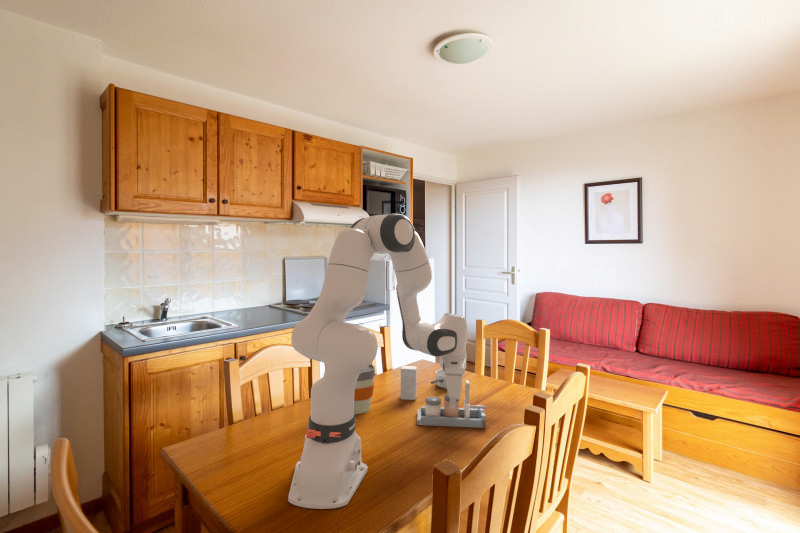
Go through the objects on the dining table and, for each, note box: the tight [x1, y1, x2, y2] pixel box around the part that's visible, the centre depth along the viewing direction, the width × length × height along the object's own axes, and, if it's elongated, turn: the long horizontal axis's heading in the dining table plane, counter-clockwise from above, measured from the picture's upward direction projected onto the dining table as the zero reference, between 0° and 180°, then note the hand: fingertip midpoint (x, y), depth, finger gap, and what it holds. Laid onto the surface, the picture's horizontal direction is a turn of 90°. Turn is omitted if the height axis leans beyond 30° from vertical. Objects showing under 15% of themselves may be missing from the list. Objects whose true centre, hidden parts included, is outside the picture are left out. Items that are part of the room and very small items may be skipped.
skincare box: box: [400, 365, 418, 401], centre depth 148 cm, size 6×4×12 cm
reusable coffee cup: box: [354, 363, 376, 415], centre depth 137 cm, size 13×12×15 cm
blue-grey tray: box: [416, 404, 487, 429], centre depth 129 cm, size 9×22×4 cm, turn 86°
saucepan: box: [430, 368, 447, 390], centre depth 159 cm, size 12×20×6 cm, turn 146°
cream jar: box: [424, 395, 442, 417], centre depth 130 cm, size 5×5×7 cm
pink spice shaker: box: [443, 393, 461, 418], centre depth 129 cm, size 5×5×8 cm
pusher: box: [463, 379, 488, 418], centre depth 129 cm, size 6×7×13 cm
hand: (451, 402), depth 128 cm, fingers open, 8 cm apart
